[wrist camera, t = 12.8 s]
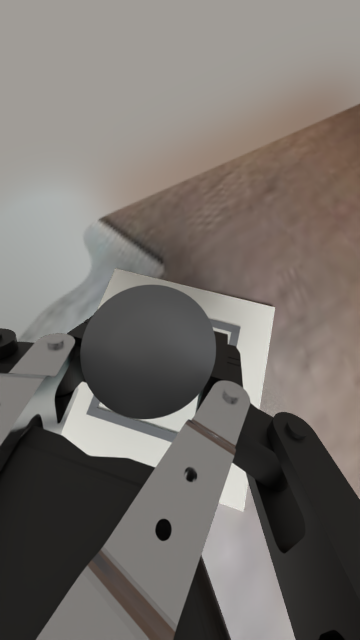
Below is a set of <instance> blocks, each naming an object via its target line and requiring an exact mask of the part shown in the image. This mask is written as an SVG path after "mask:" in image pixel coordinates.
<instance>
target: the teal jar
mask: <svg viewBox="0 0 360 640" xmlns="http://www.w3.org/2000/svg"><path fill="white" fill-rule="evenodd" d="M215 357H216V341H215V335H214V330H213V327H212V325H211V322H210V320H209V318H208V316H207V315H206V313H205V312H204V310H203V309H202V308H201V306H200V305H199V304H198V303H197V302H196V301H195V300H193V299H192V298H191V297H190V296H188V295H186V294H185V293H183V292H181V291H179V290H177V289H174V288H171V287H168V286H163V285H141V286H135V287H132V288H128V289H126V290H124V291H121V292H119V293H118V294H116V295H114V296H113V297H111V298H110V299H108V300H107V301H106V302H105V303H104V304H103V305H101V306H100V308H99V309H98V310H97V311H96V312H95V313H94V315H93V316H92V318H91V319H90V321H89V323H88V325H87V327H86V329H85V332H84V335H83V339H82V343H81V351H80V359H81V367H82V372H83V375H84V378H85V381H86V383H87V385H88V387H89V389H90V390H91V392H92V393H93V395H94V396H95V397H96V398H97V399H98V400H99V401H100V402H101V403H102V404H103V405H105V406H106V407H107V408H109V409H110V410H112V411H114V412H115V413H118V414H120V415H123V416H126V417H130V418H134V419H155V418H160V417H164V416H167V415H170V414H173V413H175V412H177V411H179V410H181V409H182V408H184V407H185V406H186V405H188V404H189V403H190V402H191V401H193V400H194V399H195V398H196V397H197V396H198V394H199V393H200V392H201V391H202V390H203V388H204V387H205V385H206V383H207V382H208V380H209V378H210V375H211V373H212V370H213V367H214V363H215Z"/></svg>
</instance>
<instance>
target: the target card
mask: <svg viewBox="0 0 360 640" xmlns="http://www.w3.org/2000/svg"><path fill="white" fill-rule="evenodd" d="M141 285H163V286H168V287H171V288H174V289H177V290H179V291H181V292H183V293H185V294H186V295H188V296H190V297H191V298H192V299H193V300H195V301H196V302H197V303H198V304H199V305H200V306H201V308H202V309H203V310H204V312H205V313H206V315H207V316H208V318H209V320H210V322H211V325H212V327H213V330H214V331H217V332H221V333H225V334H228V344H229V345H233V346H236V347H237V349H238V350H239V352H240V356H241V368H242V380H243V389H244V390H245V391H246V392H247V393H248V395H249V397H250V403H251V404H253V405H254V406H255V407H256V408H258V409H260V402H261V396H262V389H263V383H264V376H265V370H266V363H267V357H268V350H269V344H270V337H271V331H272V324H273V318H274V311H275V307H271V306H267V305H263V304H259V303H255V302H251V301H247V300H243V299H239V298H234V297H230V296H226V295H222V294H218V293H214V292H210V291H206V290H202V289H198V288H194V287H190V286H186V285H181V284H177V283H173V282H169V281H165V280H161V279H157V278H153V277H149V276H145V275H141V274H137V273H133V272H128V271H124V270H120V269H116V268H115V270H114V272H113V275H112V277H111V279H110V282H109V284H108V286H107V288H106V291H105V293H104V295H103V298H102V300H101V302H100V305H99V307H98V309H99V308H100V306H101V305H103V304H104V303H105V302H106V301H107V300H108V299H110V298H111V297H113V296H114V295H116V294H118V293H119V292H121V291H124V290H126V289H128V288H132V287H135V286H141ZM98 309H97V310H98ZM198 395H199V394H198ZM197 400H198V396H197V397H196V398H195V399H194V400H193V401H191V402H190V403H189V404H188V405H186V406H185V407H184V408H182V409H181V410H179V411H177V412H175V413H173V414H170V415H167V416H164V417H160V418H155V419H134V418H130V417H126V416H123V415H120V414H118V413H115V412H114V411H112V410H110V409H109V408H107V407H106V406H105V405H103V404H102V403H101V402H100V401H99V400H98V399H97V398H96V397H95V396H94V395H93V393H92V392H91V390H90V389H89V387H88V385H87V383H85V382H81V383H80V384H79V385H78V393H77V396H76V398H75V400H74V403H73V405H72V408H71V410H70V413H69V415H68V417H67V420H66V422H65V425H64V427H63V430H62V433H61V435H63V436H64V437H65V438H67V439H68V440H69V441H70V442H72V443H73V444H74V445H76V446H77V447H78V448H79V449H81V450H82V451H83V452H85V453H86V454H88V455H90V456H100V457H120V458H130V459H132V460H135V461H138V462H141V463H144V464H147V465H150V466H153V467H156V466H157V465H158V463H159V462H160V460H161V459H162V457H163V456H164V454H165V453H166V451H167V449H168V448H169V446H170V445H171V443H172V442H173V440H174V439H175V437H176V436H177V434H178V433H179V431H180V430H181V428H182V427H183V425H184V424H185V423H186V421H187V420H188V419H190V420H192V418H193V417H194V415H195V412H196V406H197ZM247 486H248V479H247V476H246V472H245V471H243V470H242V469H240V468H239V467H238V466H236V465H235V464H233V463H232V464H231V467H230V470H229V473H228V476H227V479H226V482H225V485H224V488H223V491H222V494H221V497H220V500H219V503H220V504H223V505H226V506H229V507H232V508H235V509H237V510H240V511H243V512H244V506H245V499H246V493H247Z"/></svg>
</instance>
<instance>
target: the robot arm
mask: <svg viewBox="0 0 360 640" xmlns="http://www.w3.org/2000/svg"><path fill="white" fill-rule="evenodd" d="M91 318H92V316H91V317H90V318H89V319H87V320H86V321H84V323H81V324H80V325H79V326H77V327H76V328H74V329H73V330H71V331H70V332H69V333H67V334H62V333H56V334H49V335H46V336H43V337H41V338H40V339H38V340H37V341H36V342H35V343H30V342H17V339H16V334H15V333H14V332H13V331H11V330H9V329H0V640H231V638H230V635H229V633H228V630H227V627H226V624H225V621H224V618H223V615H222V613H221V610H220V607H219V604H218V601H217V598H216V595H215V593H214V590H213V587H212V584H211V581H210V578H209V575H208V572H207V570H206V567H205V564H204V561H203V558H202V555H201V553H202V550H203V548H204V545H205V542H206V539H207V536H208V533H209V530H210V527H211V524H212V521H213V518H214V515H215V512H216V509H217V506H218V503H219V500H220V497H221V494H222V491H223V488H224V485H225V482H226V479H227V476H228V473H229V470H230V467H231V464H232V463H233V464H235V465H236V466H238V467H239V468H240V469H242V470H243V471H245V472H246V476H247V479H248V483H249V486H250V489H251V493H252V496H253V499H254V503H255V506H256V509H257V513H258V516H259V519H260V523H261V526H262V529H263V533H264V536H265V539H266V542H267V546H268V549H269V552H270V556H271V559H272V562H273V566H274V569H275V572H276V576H277V579H278V582H279V586H280V589H281V592H282V596H283V599H284V602H285V606H286V609H287V612H288V616H289V619H290V622H291V626H292V629H293V632H294V636H295V639H296V640H360V500H359V498H358V496H357V495H356V493H355V492H354V490H353V489H352V487H351V486H350V484H349V483H348V481H347V480H346V478H345V477H344V475H343V474H342V472H341V471H340V469H339V468H338V466H337V465H336V463H335V462H334V460H333V459H332V457H331V456H330V454H329V453H328V451H327V450H326V448H325V447H324V445H323V444H322V442H321V441H320V439H319V438H318V436H317V435H316V433H315V432H314V430H313V429H312V428H311V427H310V426H309V425H308V424H307V423H306V422H305V421H304V420H302V419H301V418H299V417H298V416H296V415H293V414H291V413H287V412H280V413H277V414H276V415H275V416H274V418H273V417H272V416H270V415H268V414H266V413H264V412H263V411H261V410H259V409H258V408H256V407H255V406H254V405H253V404H251V403H250V397H249V395H248V393H247V392H246V391H245V390H244V389H243V380H242V368H241V356H240V352H239V350H238V349H237V347H236V346H233V345H229V344H228V334H225V333H221V332H217V331H214V335H215V341H216V357H215V363H214V367H213V370H212V373H211V375H210V378H209V380H208V382H207V383H206V385H205V387H204V388H203V390H202V391H201V392H200V393H199V395H198V400H197V406H196V412H195V415H194V417H193V418H192V420H190V419H188V420H187V421H186V423H185V424H184V425H183V427H182V428H181V430H180V431H179V433H178V434H177V436H176V437H175V439H174V440H173V442H172V443H171V445H170V446H169V448H168V449H167V451H166V453H165V454H164V456H163V457H162V459H161V460H160V462H159V463H158V465H157V466H156V467H153V466H150V465H147V464H144V463H141V462H138V461H135V460H132V459H130V458H120V457H100V456H90V455H88V454H86V453H85V452H83V451H82V450H81V449H79V448H78V447H77V446H76V445H74V444H73V443H72V442H70V441H69V440H68V439H67V438H65V437H64V436H63V435H61V433H62V430H63V427H64V425H65V422H66V420H67V417H68V415H69V413H70V410H71V408H72V405H73V403H74V400H75V398H76V396H77V393H78V385H79V384H80V383H81V382H85V383H86V381H85V378H84V375H83V372H82V367H81V359H80V351H81V343H82V339H83V335H84V332H85V329H86V327H87V325H88V323H89V321H90V319H91Z"/></svg>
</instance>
